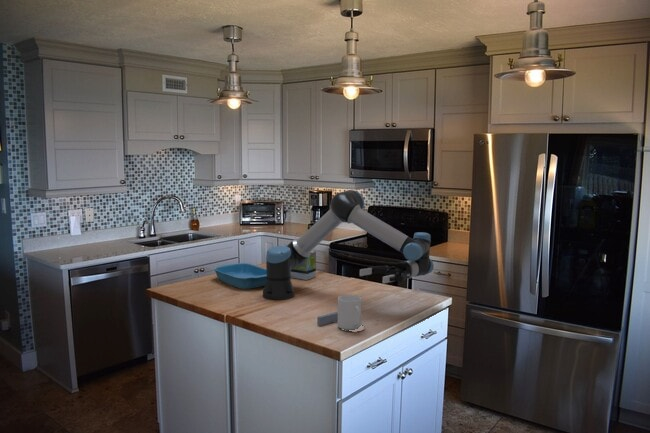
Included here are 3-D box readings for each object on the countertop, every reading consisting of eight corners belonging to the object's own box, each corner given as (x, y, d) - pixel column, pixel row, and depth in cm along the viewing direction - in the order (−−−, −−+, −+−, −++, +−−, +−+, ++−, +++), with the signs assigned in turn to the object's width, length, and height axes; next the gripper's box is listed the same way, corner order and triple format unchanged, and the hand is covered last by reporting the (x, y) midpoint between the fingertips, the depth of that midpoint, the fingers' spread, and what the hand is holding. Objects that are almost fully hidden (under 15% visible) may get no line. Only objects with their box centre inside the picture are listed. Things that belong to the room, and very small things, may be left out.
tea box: (316, 277, 288) (316, 250, 286) (306, 280, 280) (306, 253, 278) (294, 273, 296) (294, 247, 294) (283, 276, 288) (283, 250, 286)
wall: (319, 326, 209) (319, 317, 209) (317, 325, 211) (317, 316, 210) (352, 317, 221) (352, 309, 220) (349, 316, 222) (350, 308, 222)
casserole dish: (208, 278, 282) (207, 265, 281) (243, 272, 297) (243, 260, 296) (243, 293, 254) (243, 279, 253) (280, 286, 269) (280, 273, 268)
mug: (348, 320, 215) (349, 293, 213) (370, 328, 206) (371, 300, 205) (332, 326, 208) (333, 297, 207) (354, 334, 200) (354, 304, 198)
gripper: (427, 284, 220) (392, 292, 206) (385, 272, 239) (350, 278, 225) (428, 267, 219) (394, 274, 205) (385, 256, 238) (351, 261, 224)
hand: (371, 276), depth 215 cm, fingers open, 13 cm apart
